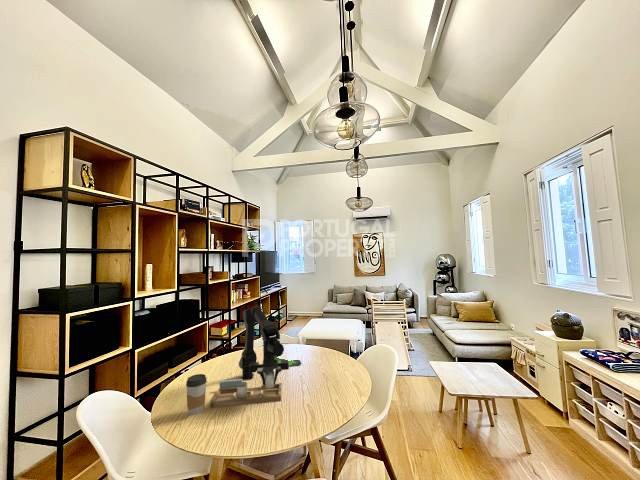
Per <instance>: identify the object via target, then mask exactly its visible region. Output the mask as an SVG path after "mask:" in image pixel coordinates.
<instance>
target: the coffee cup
mask: <svg viewBox="0 0 640 480" xmlns="http://www.w3.org/2000/svg"><path fill="white" fill-rule="evenodd" d="M185 386H186V404H187V414H188V416H191V415H197V414H200V413H202V412H203V411H204V410H205V403H206V389H207V377H206V374H203V373H198V374H193V375H190V376H189V377H187V380H186V384H185Z"/></svg>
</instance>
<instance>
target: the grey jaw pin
mask: <svg viewBox="0 0 640 480" xmlns="http://www.w3.org/2000/svg"><path fill="white" fill-rule="evenodd" d="M274 378H275V370H274V371H273V372H271V373H270V372H267V373H265V388H267V389H271V388H273V387H274Z"/></svg>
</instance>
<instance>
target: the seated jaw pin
mask: <svg viewBox="0 0 640 480" xmlns="http://www.w3.org/2000/svg"><path fill="white" fill-rule="evenodd" d="M247 388H248V382H247V381H242V382H240V383H238V384H237V399H245V398H247Z"/></svg>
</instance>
